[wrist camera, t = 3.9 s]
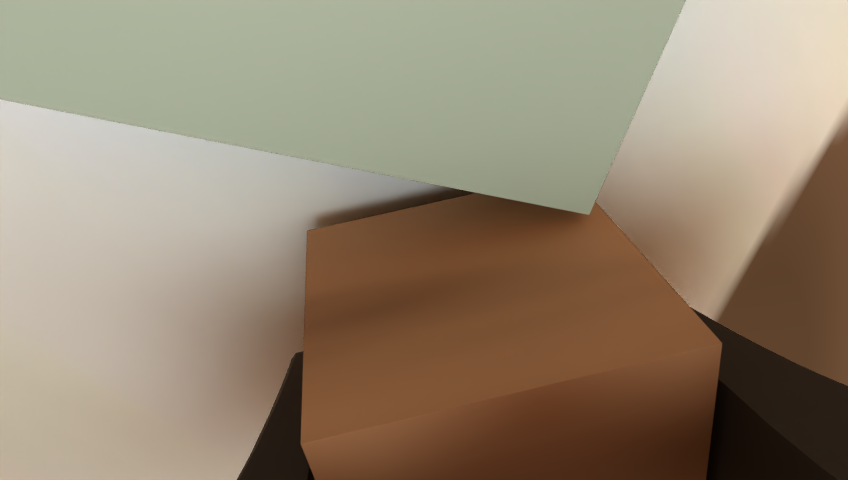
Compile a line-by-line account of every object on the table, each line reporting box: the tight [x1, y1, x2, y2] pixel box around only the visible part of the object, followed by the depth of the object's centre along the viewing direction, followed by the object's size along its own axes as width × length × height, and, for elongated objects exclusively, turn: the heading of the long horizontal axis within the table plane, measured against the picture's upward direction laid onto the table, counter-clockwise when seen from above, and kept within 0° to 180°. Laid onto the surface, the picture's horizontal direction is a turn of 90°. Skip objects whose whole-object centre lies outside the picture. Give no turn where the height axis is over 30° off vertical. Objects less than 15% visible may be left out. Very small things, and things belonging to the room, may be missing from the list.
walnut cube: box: [301, 193, 722, 480], centre depth 10 cm, size 5×5×5 cm
